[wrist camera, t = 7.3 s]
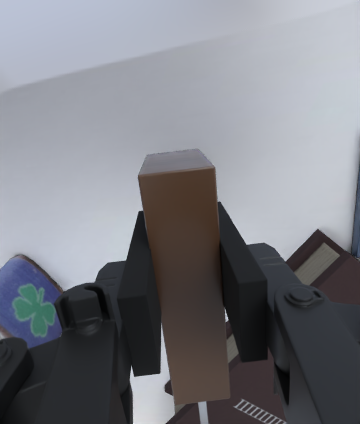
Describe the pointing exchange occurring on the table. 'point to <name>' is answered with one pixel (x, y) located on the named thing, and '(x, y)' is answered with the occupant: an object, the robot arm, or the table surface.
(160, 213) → the knife
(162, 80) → the table surface
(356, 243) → the butter dish
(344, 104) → the table surface
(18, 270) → the flask
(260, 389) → the book
